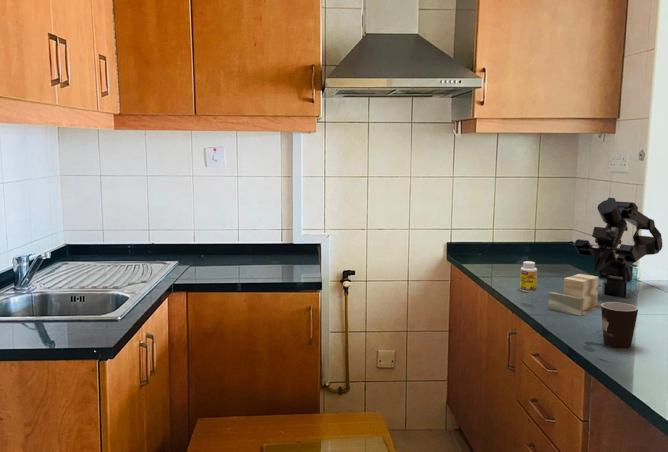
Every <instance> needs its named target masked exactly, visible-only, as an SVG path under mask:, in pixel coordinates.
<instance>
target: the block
mask: <svg viewBox="0 0 668 452" xmlns="http://www.w3.org/2000/svg"><path fill="white" fill-rule="evenodd" d="M599 278H600V276H596V275H592V274H591V275H589V274H583V273H577V274H574V275H572V276H568V277H564V279H563V293H562V294H565V295H570V296H575V297H580V298H583V310H586V309H589V308H591V307H594V306H596V305H597V304H598V295H599V293H598V292H599Z"/></svg>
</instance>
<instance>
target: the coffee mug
mask: <svg viewBox="0 0 668 452" xmlns="http://www.w3.org/2000/svg"><path fill="white" fill-rule="evenodd" d="M600 305H601V308H600V311H601V323H602V340H603V345H604V346H607V347H610V348H612V349H613V348H614V349H620V350H621V349H623V350H624V349H629V348H631V347H632V342H633V338H634V334H635V330H636V329H635V328H636V323H637V318H638V314H639V307H638V306H636V305H634V304H629V303H625V302H615V301H610V302H603V303H601V304H600Z"/></svg>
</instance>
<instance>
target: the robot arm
mask: <svg viewBox="0 0 668 452" xmlns="http://www.w3.org/2000/svg"><path fill="white" fill-rule="evenodd" d="M597 211H598V214H599V215H600V217H601V219H602V221H603V223H604V224H606V225H605V227H601V226H594V227H593V230H592V234H591V237H592V238H594V243H592V244H591V243H590V240H589V239H576V240H575V241H574V243H573V246H574V248H575V251H576V253H577V254H578V255H579V256H582V257H589V256H591V255H592V256H593V258H594V261H593V262H594V263H593V264H594V265H593V270H594V273H599V278H600V279H604V280H603V282H602V286H601V287H602V288H601V295H603V296H608V297H609V296H610V297H614V298H615V297H616V298H620V299H626V300H628V297H627V287H628V286H627V283H631V281H632V279H633V272H632V270H631V268H630V266H632V265H633V264H634V263H637V261H639V260H640V259H642V258H643V257H644V256H651V255H656V254H659V252H660V251H662V249H663V237H662V233H661V232H660V231H659V229H658V228H657V227H656V223H655V220H654V219H652V218H649V217H648V216H646V215H644V214H643V213H642V212H640V211H639V207H638V205H637V204H636V203H635V202H633V201H631V202H630V201H618V200H617V201H616V198H615V197H608V198H607V199H605V200H603V201H601V202H600V203H599V204H598V205H597ZM627 222H628V223H629V224H631V225H633V226H634V227H635V229H636V230H635V232H634V234H633V235H632V241H633V244H634V245H630V244H622V238H623V235H624V233H625V232H628V229H629V228H628V223H627ZM641 230H643V231H644V230H645V231H648V232H649V233H650V234H651V236H648V235H640V233H639V232H640V231H641ZM618 246H619V247H618Z"/></svg>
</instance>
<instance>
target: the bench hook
mask: <svg viewBox="0 0 668 452" xmlns="http://www.w3.org/2000/svg"><path fill="white" fill-rule="evenodd" d="M547 308H548V310H551V311H556V312H560V313H565V314H569V315H574V316H578V317H579V316H580V317H581V316H583V315H586V314H588V313H592V312H593V311H594V312H595V310H599V309H601V304H600V303H597V305H596V306H594V307H591V308H589V309H586V310H583V298H580V297H575V296H570V295H565V294H563V293H559V292H555V291H554V292H553V291H550V292H548V307H547Z"/></svg>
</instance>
